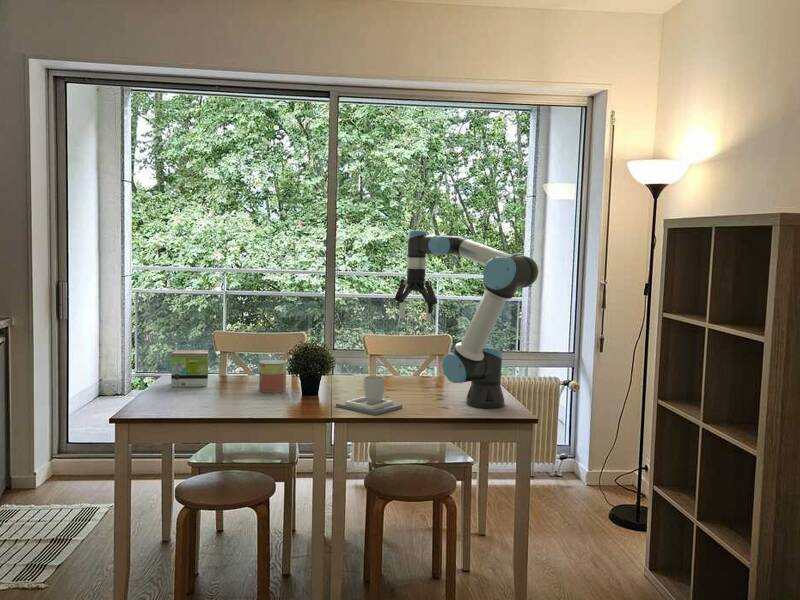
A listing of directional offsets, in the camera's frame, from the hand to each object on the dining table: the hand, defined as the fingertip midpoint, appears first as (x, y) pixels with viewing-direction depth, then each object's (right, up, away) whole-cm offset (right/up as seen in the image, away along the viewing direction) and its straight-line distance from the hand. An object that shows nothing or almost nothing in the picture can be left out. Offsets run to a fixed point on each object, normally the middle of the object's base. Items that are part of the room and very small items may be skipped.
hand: (414, 319), depth 305 cm
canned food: (-60, -30, +8) cm, 67 cm away
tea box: (-96, -29, +14) cm, 101 cm away
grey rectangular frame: (-18, -33, -19) cm, 42 cm away
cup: (-16, -32, -18) cm, 40 cm away
